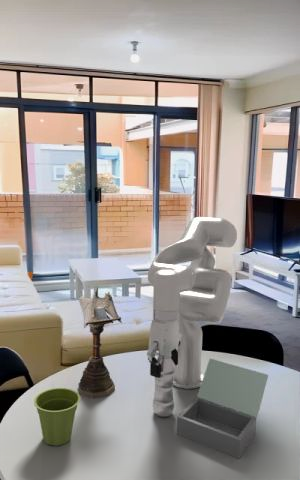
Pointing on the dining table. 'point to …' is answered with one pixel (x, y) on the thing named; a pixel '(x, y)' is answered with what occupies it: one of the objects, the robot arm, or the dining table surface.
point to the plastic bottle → (164, 388)
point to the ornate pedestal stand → (97, 344)
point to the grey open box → (215, 436)
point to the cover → (233, 387)
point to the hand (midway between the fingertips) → (164, 369)
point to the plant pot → (57, 414)
